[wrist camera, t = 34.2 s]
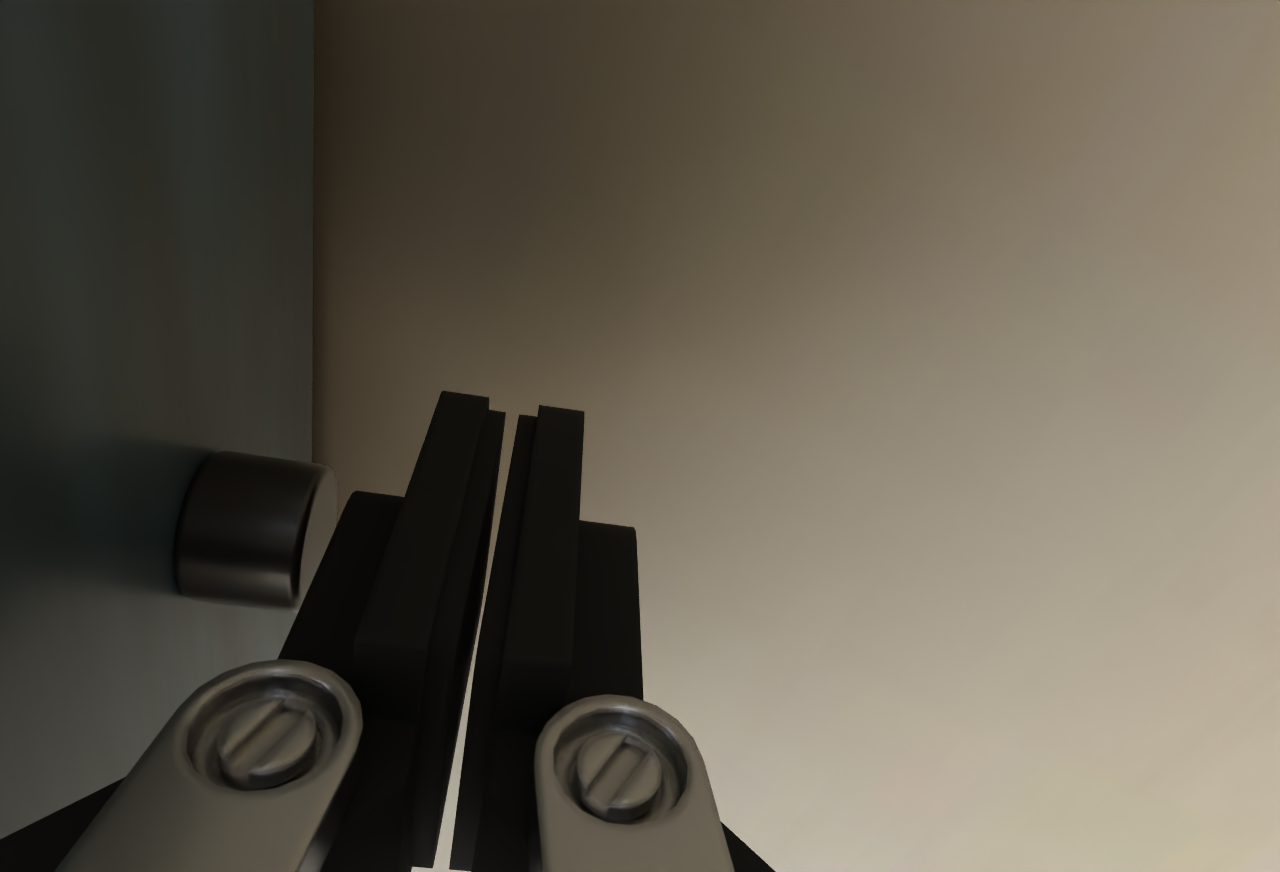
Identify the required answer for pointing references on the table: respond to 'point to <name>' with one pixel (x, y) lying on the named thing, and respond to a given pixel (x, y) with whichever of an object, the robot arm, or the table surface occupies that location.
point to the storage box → (149, 371)
